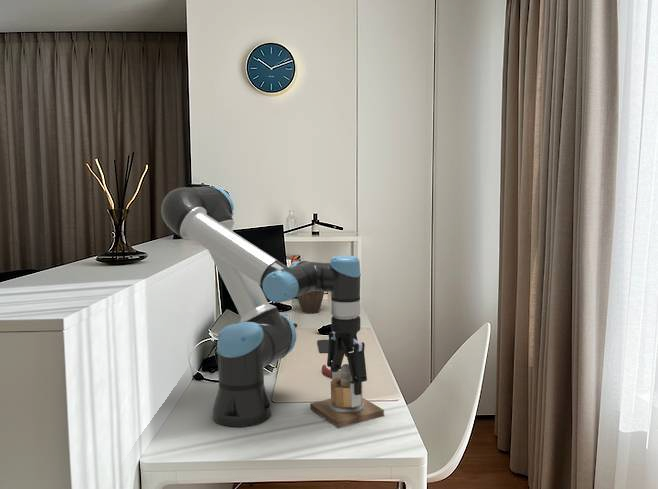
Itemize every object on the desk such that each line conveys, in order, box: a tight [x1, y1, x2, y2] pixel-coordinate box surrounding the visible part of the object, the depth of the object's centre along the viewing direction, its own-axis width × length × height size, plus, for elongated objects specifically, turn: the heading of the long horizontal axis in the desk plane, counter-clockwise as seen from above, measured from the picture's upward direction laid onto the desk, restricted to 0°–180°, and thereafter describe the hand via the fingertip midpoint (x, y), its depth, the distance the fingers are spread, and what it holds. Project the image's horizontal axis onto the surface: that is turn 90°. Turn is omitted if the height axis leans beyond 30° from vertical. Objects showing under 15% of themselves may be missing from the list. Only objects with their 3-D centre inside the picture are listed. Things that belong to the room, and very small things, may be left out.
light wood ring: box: [330, 378, 363, 407], centre depth 154 cm, size 8×8×5 cm
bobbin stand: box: [309, 363, 385, 429], centre depth 154 cm, size 14×14×13 cm
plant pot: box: [296, 291, 325, 314], centre depth 266 cm, size 15×15×16 cm
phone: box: [316, 339, 329, 354], centre depth 213 cm, size 7×1×15 cm
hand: (346, 400), depth 154 cm, fingers closed on light wood ring, 8 cm apart
